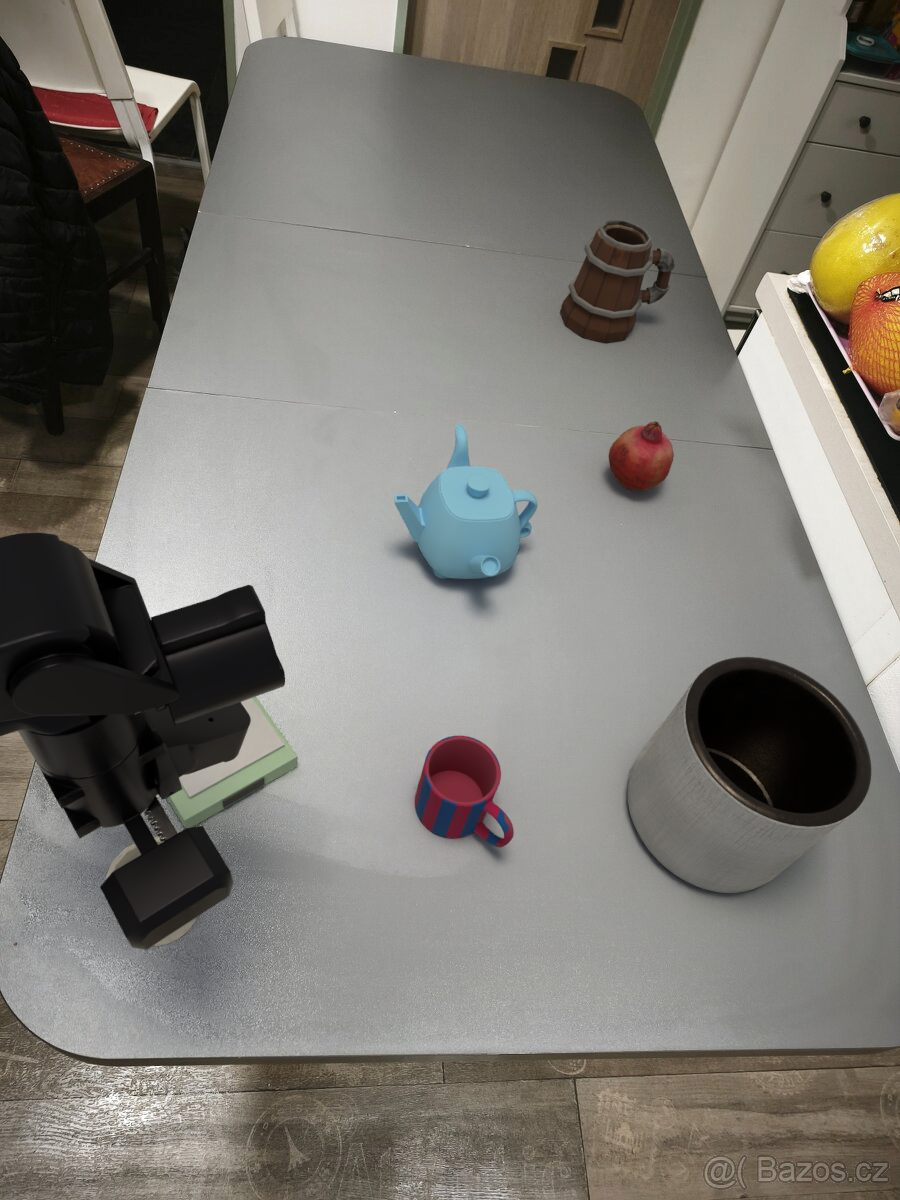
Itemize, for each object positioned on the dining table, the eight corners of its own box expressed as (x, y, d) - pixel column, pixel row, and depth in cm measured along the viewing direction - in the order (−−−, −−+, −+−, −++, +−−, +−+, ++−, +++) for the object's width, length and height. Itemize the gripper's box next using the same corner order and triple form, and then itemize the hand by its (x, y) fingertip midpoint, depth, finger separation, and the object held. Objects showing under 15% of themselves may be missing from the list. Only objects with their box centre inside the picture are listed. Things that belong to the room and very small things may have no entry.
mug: (570, 341, 127) (598, 249, 115) (554, 298, 134) (579, 207, 122) (663, 347, 130) (700, 258, 118) (643, 304, 137) (676, 217, 126)
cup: (459, 759, 78) (471, 723, 73) (522, 845, 74) (540, 813, 68) (400, 791, 75) (409, 756, 70) (462, 884, 71) (476, 854, 65)
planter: (814, 883, 76) (913, 813, 64) (658, 911, 72) (733, 842, 60) (742, 732, 85) (816, 646, 73) (601, 749, 81) (655, 661, 69)
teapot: (371, 548, 93) (380, 475, 85) (445, 491, 101) (460, 418, 92) (477, 623, 89) (497, 554, 80) (545, 557, 97) (570, 488, 88)
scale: (187, 832, 70) (184, 820, 68) (129, 735, 74) (125, 722, 73) (298, 767, 75) (299, 755, 73) (238, 681, 80) (237, 667, 78)
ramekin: (139, 963, 63) (128, 940, 58) (104, 895, 65) (90, 867, 61) (216, 914, 66) (210, 888, 61) (179, 851, 69) (171, 821, 64)
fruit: (671, 495, 107) (701, 436, 100) (625, 511, 104) (652, 452, 96) (634, 456, 111) (660, 396, 104) (588, 471, 108) (611, 410, 100)
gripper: (310, 784, 43) (312, 883, 56) (151, 557, 51) (183, 688, 64) (106, 908, 38) (157, 988, 50) (-35, 636, 46) (39, 761, 58)
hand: (138, 840), depth 56 cm, fingers open, 9 cm apart
